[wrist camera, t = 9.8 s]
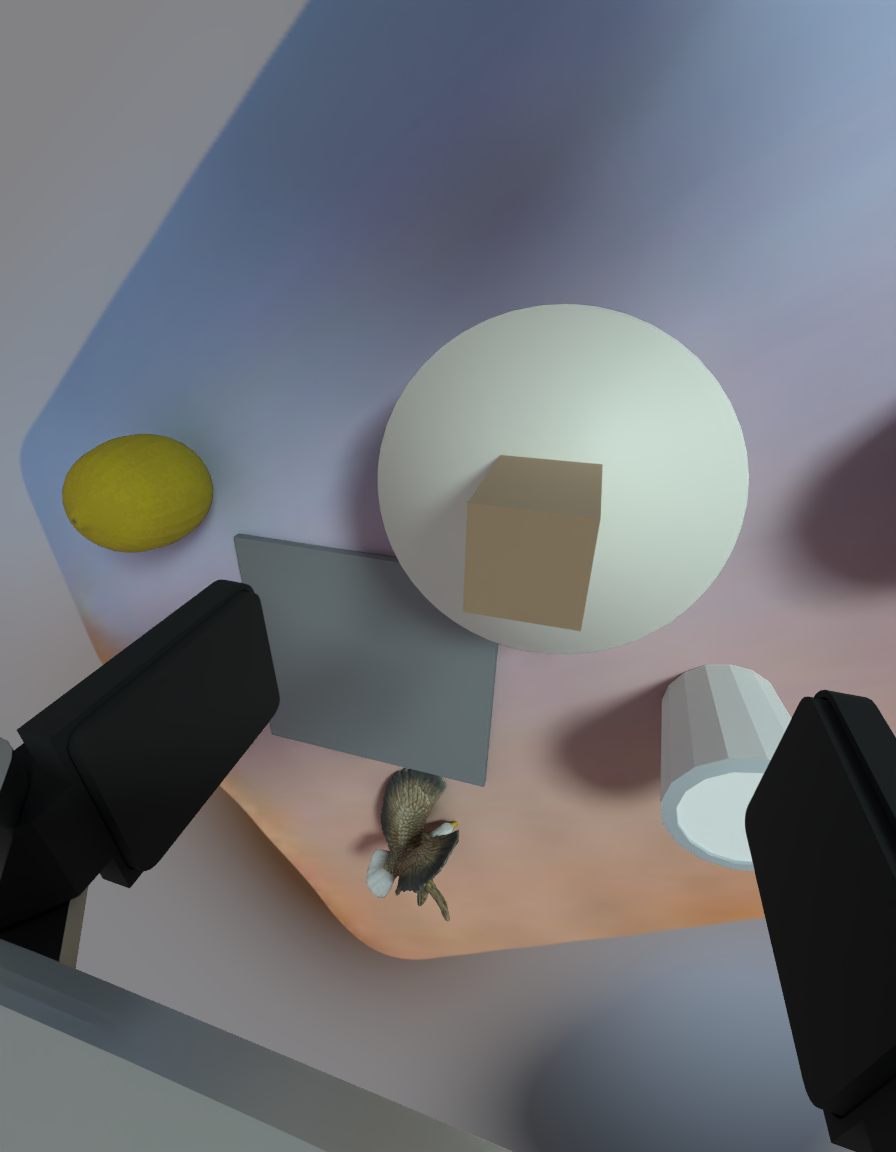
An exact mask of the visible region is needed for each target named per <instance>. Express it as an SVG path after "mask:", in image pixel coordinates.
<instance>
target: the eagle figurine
mask: <svg viewBox="0 0 896 1152" xmlns="http://www.w3.org/2000/svg"><path fill="white" fill-rule="evenodd" d="M445 788H446V783H444V782H442V777H441V776H437V775H433V774H429V773H425V772H421V771H417V770H413V769H410V770H409V771H408V770H407V769H406V768H405V769H403V771H402V772H397V773H396V774H395V775H394V776H393V777H392V779H391V780H389V784H388V786H387V787H386V793H385V796H384V803H383V807H382V813H381V824H382V830H383V833H384V835H385V837H386V841H387V842H388V847H389V849H390V851H386V850H376V851H375V852H374V854H373V855H372V858H371V861H370V865H369V868H368V870H367V884H368V887H369V890H370V891H371V892H372V893H373V894H374V895H376V896H377V897H379V898H380V897H381V898H384V897H385V896H386V895H387V894H388V892H389V890H390V889H391V887H392V884H393V882H394V880H395V878H396V877H397V876H399V880H398V886H397V889H396V891H395V893H396V895H399V893H400V892H401V891H403V892H405V891H407V890H409V891H411V890H413V892H415V893H417V892H418V896H417V900H418V906H421V905H423V904H424V902H425V901H426V899H427V897H428V893H430V894H431V896H432V897H433V898H434V900H435V901H436V903H437V904H438V906H439V907H440V909H441V913H442V915H443V917H444V919H445V920H446V921H449V920H450V917H449V912H448V907H447V903H446V901H445V899H444V897H443V896H442V894H441V893H440V892H439V890H438V889H437V888H436V885H435V883H434V882H433V878H434V877H435V876H436V875H437V874H438V873H439V872H440V871H441V869H442V868H443V866H444V865H445V864H446V862H447V860H448V857H449V856H450V855H451V853H452V851H453V849H454V847H455V846H456V844H457V843H458V841H459V839H458V838H459V834H458V833H459V830H457V831H455V832H453V833H451V832H452V830H453V829H454V827H455V826H457V825H458V823H457V822H453V823H444V824H442V825H440V826H439V827H437V828H436V829H435V830H433V831H431V832H428V833H426V832H425V829H424V825H425V822H426V819H427V817H428V814H429V812H430V810H431V808H432V806H433V805H434V803H435V802H436V801H437V800H438V798H439V797H440V795H441V794H442V793H443V792H444V789H445Z"/></svg>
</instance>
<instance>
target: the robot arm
mask: <svg viewBox="0 0 896 1152" xmlns="http://www.w3.org/2000/svg"><path fill="white" fill-rule="evenodd" d="M279 702H280V695H279V690H278V685H277V680H276V675H275V670H274V665H273V660H272V655H271V650H270V645H269V640H268V635H267V630H266V625H265V620H264V615H263V610H262V605H261V600H260V597H259V596H258V595H257V594H255V593H254V590H253V588H252V587H251V586H250V585H248V584H244V583H238V582H233V581H227V580H217V581H215V582H213V583H212V584H211V585H209V586H208V587H207V588H205V589H204V590H203V591H201V592H200V593H199V594H197V595H196V596H195V597H193V598H192V599H191V600H189V601H188V602H187V603H185V604H184V605H183V606H181V607H180V608H179V609H177V610H176V611H175V612H173V613H172V614H171V615H169V616H168V617H167V618H165V619H164V620H163V621H161V622H160V623H159V624H157V625H156V626H155V627H153V628H152V629H151V630H149V631H148V632H147V633H145V634H144V635H143V636H141V637H140V638H139V639H137V640H136V641H135V642H133V643H132V644H131V645H129V646H128V647H127V648H125V649H124V650H123V651H121V652H120V653H119V654H117V655H116V656H115V657H113V658H112V659H111V660H109V661H108V662H107V663H105V664H104V665H103V666H101V667H100V668H99V669H97V670H96V671H95V672H93V673H92V674H91V675H89V676H88V677H87V678H85V679H84V680H83V681H81V682H80V683H79V684H77V685H76V686H75V687H73V688H72V689H71V690H69V691H68V692H67V693H65V694H64V695H63V696H61V697H60V698H59V699H57V700H56V701H55V702H53V703H52V704H51V705H49V706H48V707H47V708H45V709H44V710H43V711H41V712H40V713H39V714H37V715H36V716H35V717H33V718H32V719H31V720H29V721H28V722H27V723H25V724H24V725H23V726H22V727H20V728H19V729H17V731H18V733H19V735H20V737H21V738H22V740H23V742H24V743H23V744H22V745H21V746H19V747H18V748H17V749H16V750H13V748H12V747H11V745H10V744H9V742H8V741H7V740H5V739H3V738H0V1152H512V1151H509V1150H507V1149H505V1148H503V1147H500V1146H498V1145H496V1144H493V1143H491V1142H489V1141H486V1140H484V1139H481V1138H479V1137H477V1136H474V1135H472V1134H470V1133H467V1132H465V1131H463V1130H460V1129H458V1128H455V1127H453V1126H451V1125H448V1124H446V1123H444V1122H441V1121H439V1120H437V1119H434V1118H432V1117H429V1116H427V1115H425V1114H422V1113H420V1112H418V1111H415V1110H413V1109H410V1108H408V1107H406V1106H403V1105H401V1104H398V1103H396V1102H394V1101H391V1100H389V1099H387V1098H384V1097H382V1096H379V1095H377V1094H375V1093H372V1092H370V1091H367V1090H365V1089H363V1088H360V1087H358V1086H356V1085H353V1084H351V1083H348V1082H346V1081H344V1080H341V1079H339V1078H336V1077H334V1076H332V1075H329V1074H327V1073H325V1072H322V1071H320V1070H318V1069H315V1068H313V1067H310V1066H308V1065H305V1064H303V1063H301V1062H298V1061H296V1060H294V1059H291V1058H289V1057H286V1056H284V1055H282V1054H279V1053H277V1052H274V1051H272V1050H270V1049H267V1048H265V1047H263V1046H260V1045H258V1044H255V1043H253V1042H251V1041H248V1040H246V1039H243V1038H241V1037H239V1036H236V1035H234V1034H232V1033H229V1032H227V1031H224V1030H222V1029H220V1028H217V1027H215V1026H212V1025H210V1024H208V1023H205V1022H203V1021H200V1020H198V1019H195V1018H193V1017H191V1016H188V1015H185V1014H183V1013H181V1012H178V1011H176V1010H174V1009H171V1008H169V1007H167V1006H164V1005H161V1004H159V1003H157V1002H154V1001H152V1000H150V999H147V998H145V997H142V996H140V995H137V994H135V993H133V992H130V991H128V990H125V989H123V988H121V987H118V986H116V985H113V984H111V983H108V982H106V981H103V980H101V979H99V978H96V977H94V976H91V975H89V974H87V973H84V972H82V971H79V970H77V969H76V962H77V955H78V949H79V942H80V936H81V929H82V922H83V916H84V910H85V903H86V897H87V890H88V885H89V884H90V883H91V882H92V881H93V880H94V879H95V877H96V876H97V875H98V874H99V873H100V874H101V875H102V878H103V879H105V880H108V881H111V882H114V883H116V884H119V885H122V886H125V887H128V888H130V887H131V886H132V885H133V884H134V882H135V881H136V880H137V879H138V877H139V876H140V875H141V873H142V872H143V871H147V870H150V869H151V868H153V867H154V866H155V865H156V864H157V863H158V862H159V861H160V860H161V858H162V857H163V856H164V854H165V853H166V852H167V851H168V849H169V848H170V847H171V845H172V844H173V843H174V841H176V839H177V837H179V835H180V834H181V833H182V831H183V830H184V829H185V828H186V827H187V825H188V824H189V823H190V822H191V820H192V819H193V818H194V816H195V815H196V814H197V813H198V811H199V810H200V809H201V807H202V806H203V805H204V804H205V803H206V801H207V800H208V798H209V797H210V796H211V795H212V794H213V792H214V791H215V790H216V788H217V787H218V786H219V785H220V783H221V782H222V781H223V780H224V778H225V777H226V776H227V775H228V773H229V772H230V771H231V770H232V768H233V767H234V766H235V764H236V763H237V762H238V761H239V759H240V758H241V757H242V756H243V754H244V753H245V752H246V750H247V749H248V748H249V747H250V745H251V744H252V743H253V742H254V740H255V739H256V738H257V737H258V735H259V734H260V733H261V731H262V730H263V729H264V728H265V726H266V725H267V724H268V723H269V721H270V720H271V719H272V718H273V716H274V715H275V713H276V711H277V709H278V706H279ZM745 831H746V836H747V840H748V845H749V849H750V853H751V857H752V862H753V866H754V870H755V875H756V879H757V883H758V888H759V892H760V896H761V901H762V905H763V909H764V914H765V918H766V922H767V927H768V931H769V935H770V940H771V944H772V948H773V953H774V957H775V961H776V966H777V970H778V974H779V979H780V982H781V987H782V992H783V996H784V1000H785V1004H786V1008H787V1013H788V1017H789V1021H790V1026H791V1030H792V1035H793V1039H794V1043H795V1048H796V1052H797V1056H798V1061H799V1065H800V1069H801V1074H802V1078H803V1082H804V1085H805V1089H806V1092H807V1094H808V1096H809V1098H810V1100H811V1102H812V1103H813V1104H814V1105H815V1106H816V1107H818V1108H820V1109H823V1111H824V1115H825V1119H826V1123H827V1127H828V1131H829V1135H830V1140H831V1143H833V1144H836V1145H839V1146H842V1147H844V1148H847V1149H850V1150H853V1151H855V1152H896V737H895V736H894V734H893V732H892V731H891V729H890V728H889V726H888V724H887V723H886V721H885V719H884V718H883V716H882V714H881V713H880V711H879V709H878V708H877V706H876V705H875V704H874V702H873V701H872V700H870V699H868V698H866V697H861V696H855V695H850V694H844V693H839V692H833V691H828V690H821V691H819V692H818V693H817V694H816V695H815V696H814V698H813V697H804V698H803V699H802V700H801V701H800V703H799V705H798V707H797V709H796V711H795V713H794V715H793V717H792V719H791V721H790V723H789V725H788V727H787V729H786V731H785V733H784V735H783V737H782V739H781V741H780V743H779V745H778V747H777V749H776V751H775V753H774V755H773V757H772V759H771V761H770V763H769V765H768V767H767V769H766V771H765V773H764V774H763V776H762V778H761V780H760V782H759V784H758V786H757V788H756V790H755V792H754V794H753V796H752V798H751V800H750V802H749V804H748V807H747V809H746V814H745Z"/></svg>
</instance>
